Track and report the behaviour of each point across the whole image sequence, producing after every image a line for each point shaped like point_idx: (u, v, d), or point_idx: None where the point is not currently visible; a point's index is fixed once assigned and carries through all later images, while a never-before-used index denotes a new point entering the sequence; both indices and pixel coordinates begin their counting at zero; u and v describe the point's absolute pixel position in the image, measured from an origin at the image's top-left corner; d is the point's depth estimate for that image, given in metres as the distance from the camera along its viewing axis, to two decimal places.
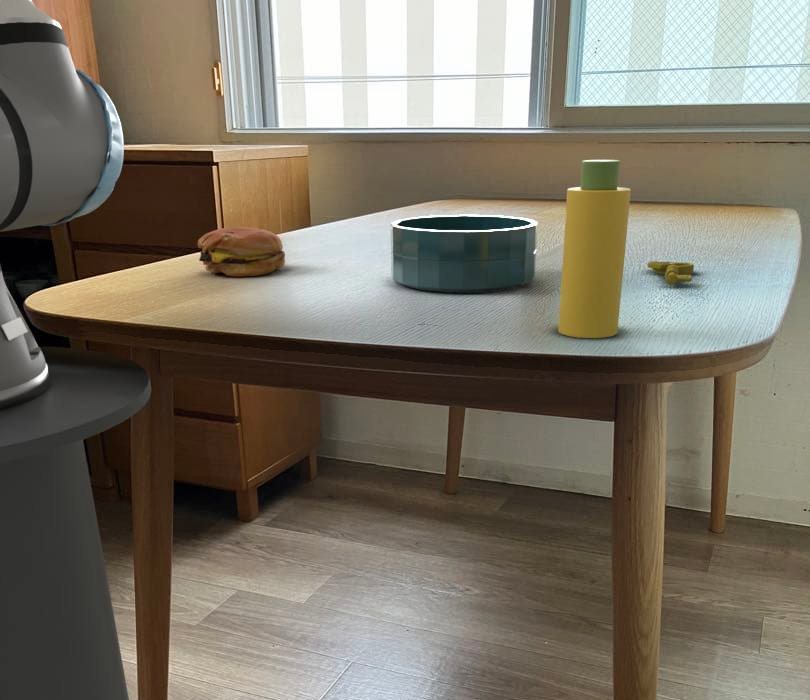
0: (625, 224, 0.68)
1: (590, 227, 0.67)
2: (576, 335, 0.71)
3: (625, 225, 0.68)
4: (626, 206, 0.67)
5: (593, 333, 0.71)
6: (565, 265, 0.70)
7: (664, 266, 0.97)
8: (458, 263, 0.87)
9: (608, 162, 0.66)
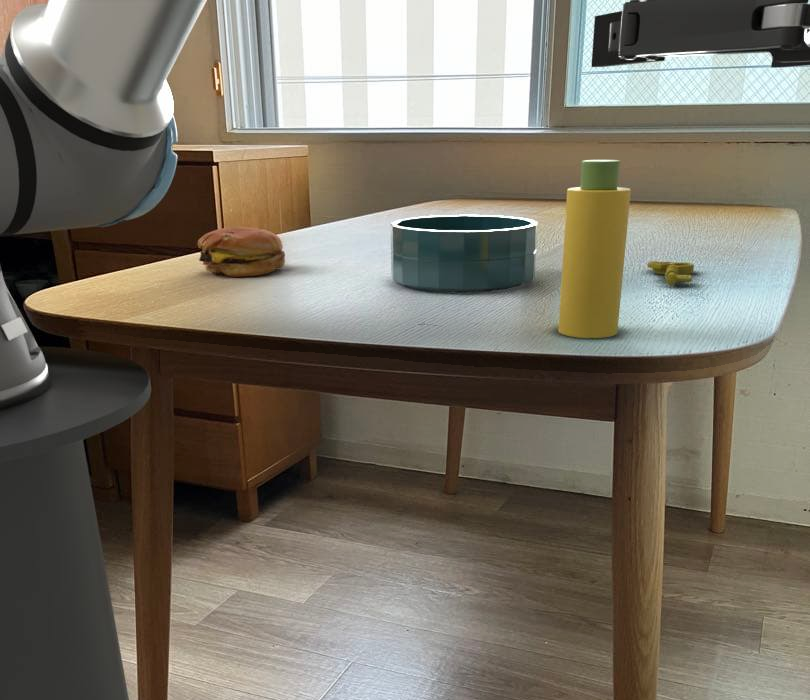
0: (625, 224, 0.68)
1: (590, 227, 0.67)
2: (576, 335, 0.71)
3: (625, 225, 0.68)
4: (626, 206, 0.67)
5: (593, 333, 0.71)
6: (565, 265, 0.70)
7: (664, 266, 0.97)
8: (458, 263, 0.87)
9: (608, 162, 0.66)
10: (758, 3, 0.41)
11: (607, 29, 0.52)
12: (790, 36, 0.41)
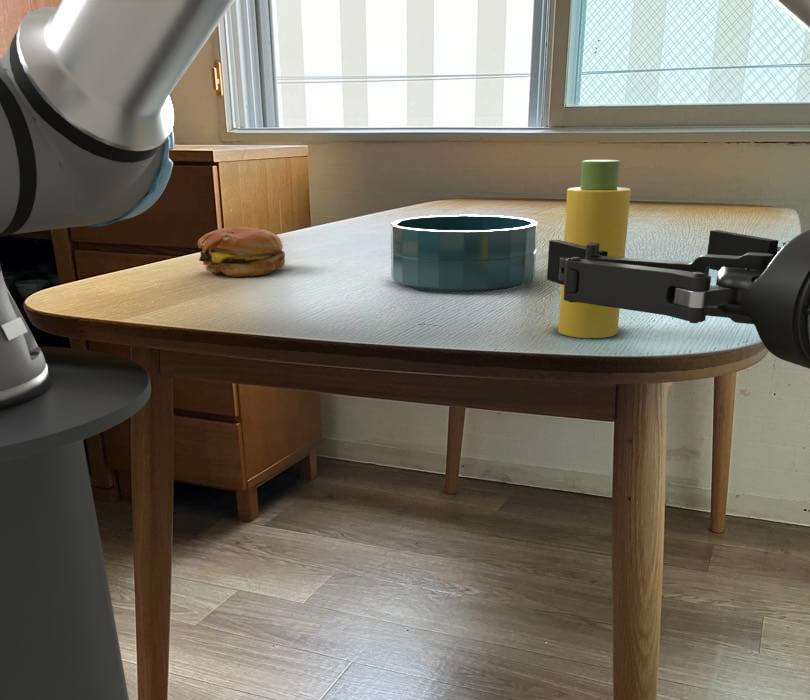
0: (625, 224, 0.68)
1: (590, 227, 0.67)
2: (576, 335, 0.71)
3: (625, 225, 0.68)
4: (626, 206, 0.67)
5: (593, 333, 0.71)
6: None
7: None
8: (458, 263, 0.87)
9: (608, 162, 0.66)
10: (670, 283, 0.51)
11: (559, 255, 0.61)
12: (695, 315, 0.50)
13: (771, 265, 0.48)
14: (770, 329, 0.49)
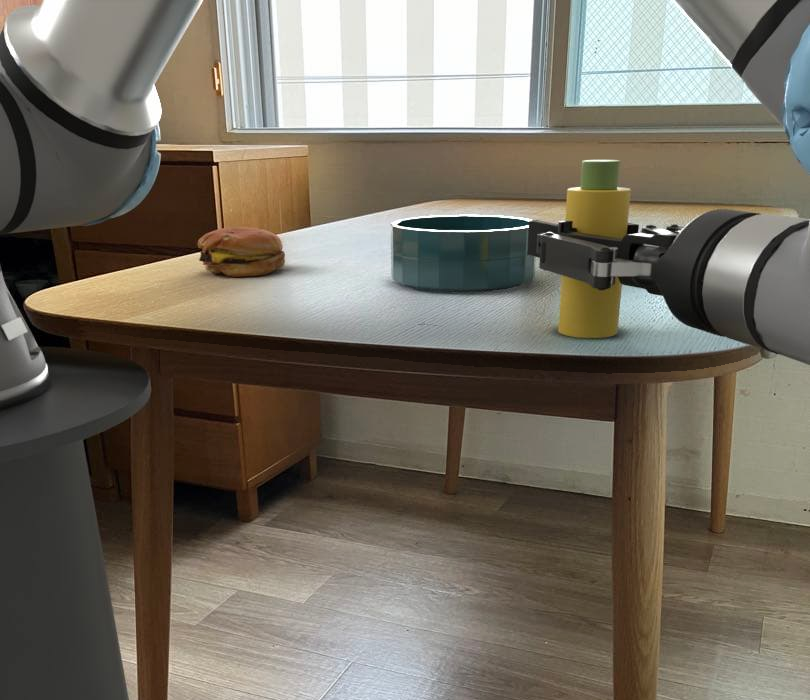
0: (625, 224, 0.68)
1: (590, 226, 0.67)
2: (576, 335, 0.71)
3: (625, 225, 0.68)
4: (626, 206, 0.67)
5: (593, 333, 0.71)
6: None
7: None
8: (458, 263, 0.87)
9: (608, 162, 0.66)
10: (590, 255, 0.60)
11: (537, 232, 0.72)
12: (597, 283, 0.59)
13: (674, 243, 0.56)
14: (674, 298, 0.56)
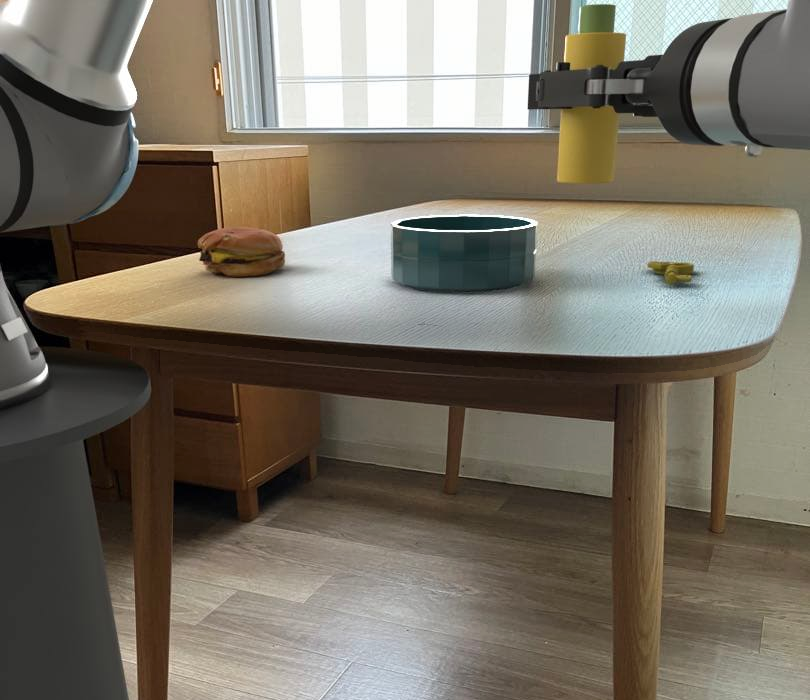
0: None
1: None
2: (573, 180, 0.74)
3: None
4: (622, 50, 0.71)
5: (590, 178, 0.74)
6: (563, 112, 0.73)
7: (664, 266, 0.97)
8: (458, 263, 0.87)
9: (604, 5, 0.69)
10: (586, 77, 0.63)
11: (536, 84, 0.75)
12: (593, 100, 0.62)
13: (665, 53, 0.59)
14: (665, 107, 0.59)
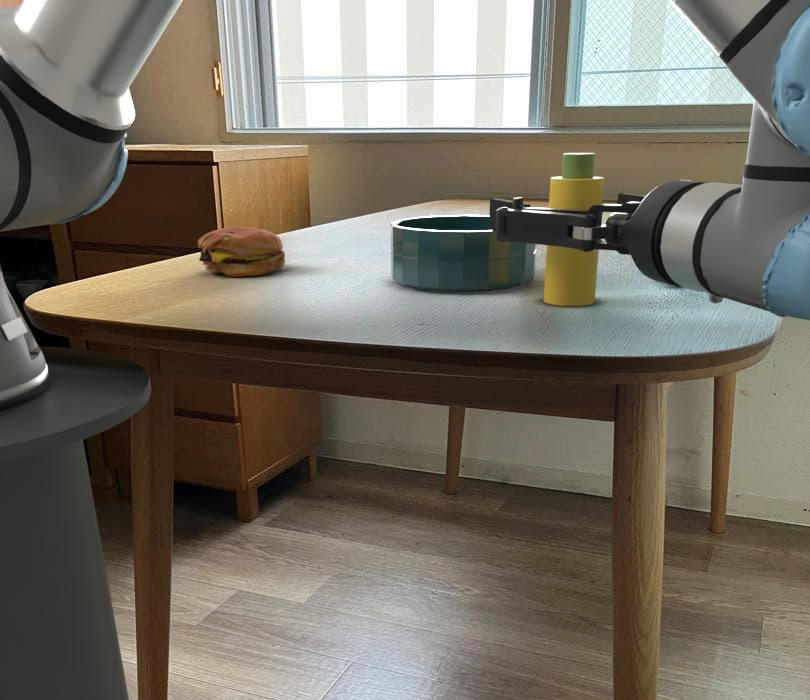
0: None
1: None
2: (558, 303, 0.83)
3: None
4: (600, 192, 0.79)
5: (573, 302, 0.82)
6: None
7: None
8: (458, 263, 0.87)
9: (585, 155, 0.78)
10: (569, 223, 0.69)
11: (496, 209, 0.80)
12: (586, 245, 0.68)
13: (638, 208, 0.67)
14: (639, 254, 0.67)
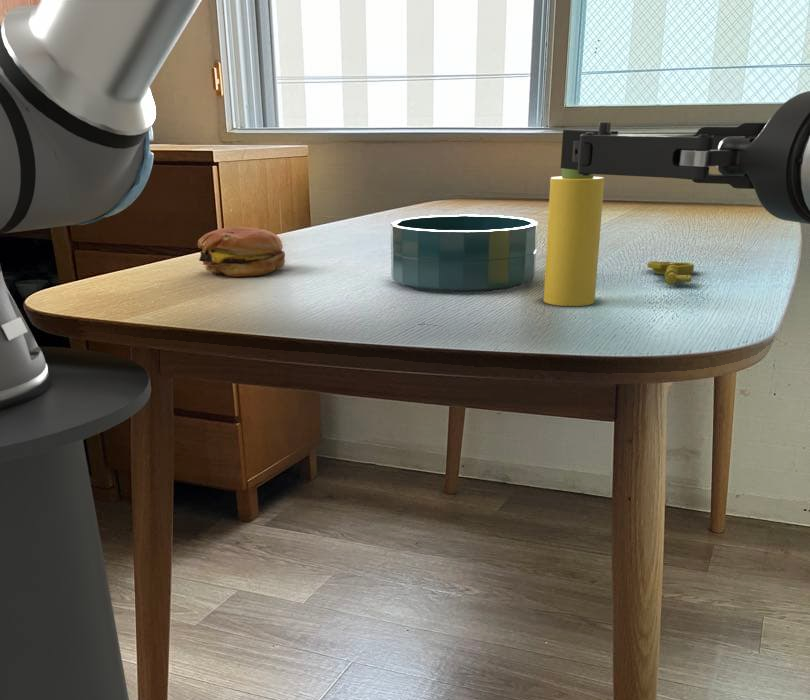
0: (600, 208, 0.80)
1: (570, 210, 0.79)
2: (558, 303, 0.83)
3: (600, 208, 0.80)
4: (600, 192, 0.79)
5: (573, 302, 0.82)
6: (549, 243, 0.82)
7: (664, 266, 0.97)
8: (458, 263, 0.87)
9: None
10: (676, 146, 0.56)
11: (572, 142, 0.67)
12: (698, 173, 0.55)
13: (767, 125, 0.53)
14: (766, 184, 0.54)
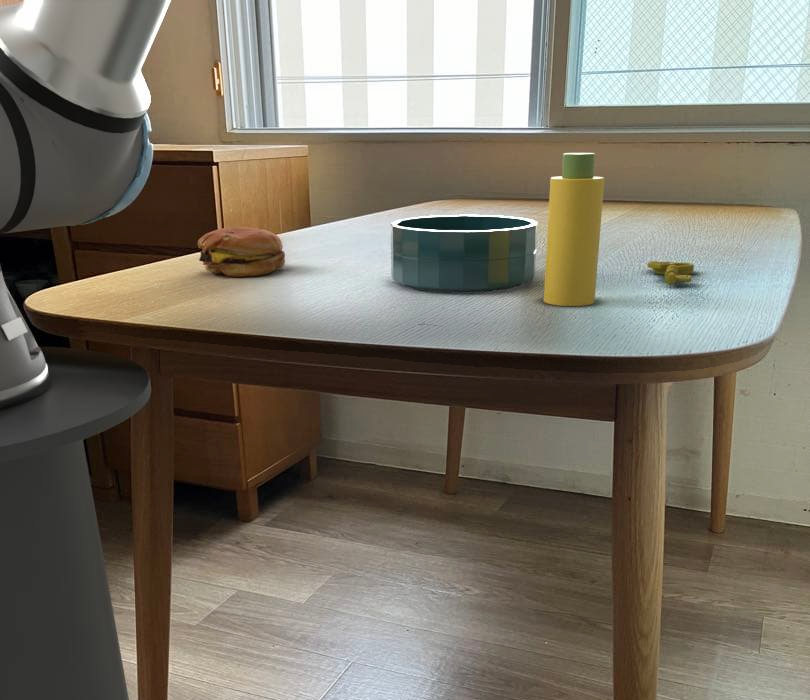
0: (600, 208, 0.80)
1: (570, 210, 0.79)
2: (558, 303, 0.83)
3: (600, 208, 0.80)
4: (600, 192, 0.79)
5: (573, 302, 0.82)
6: (549, 243, 0.82)
7: (664, 266, 0.97)
8: (458, 263, 0.87)
9: (585, 155, 0.78)
10: None
11: None
12: None
13: None
14: None
